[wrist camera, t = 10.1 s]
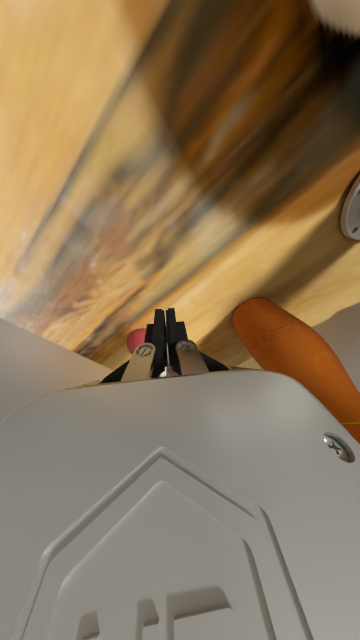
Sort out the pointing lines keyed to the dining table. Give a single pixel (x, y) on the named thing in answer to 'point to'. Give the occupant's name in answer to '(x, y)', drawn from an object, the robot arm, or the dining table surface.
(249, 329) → the wine bottle
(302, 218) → the dining table surface
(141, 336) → the ball
